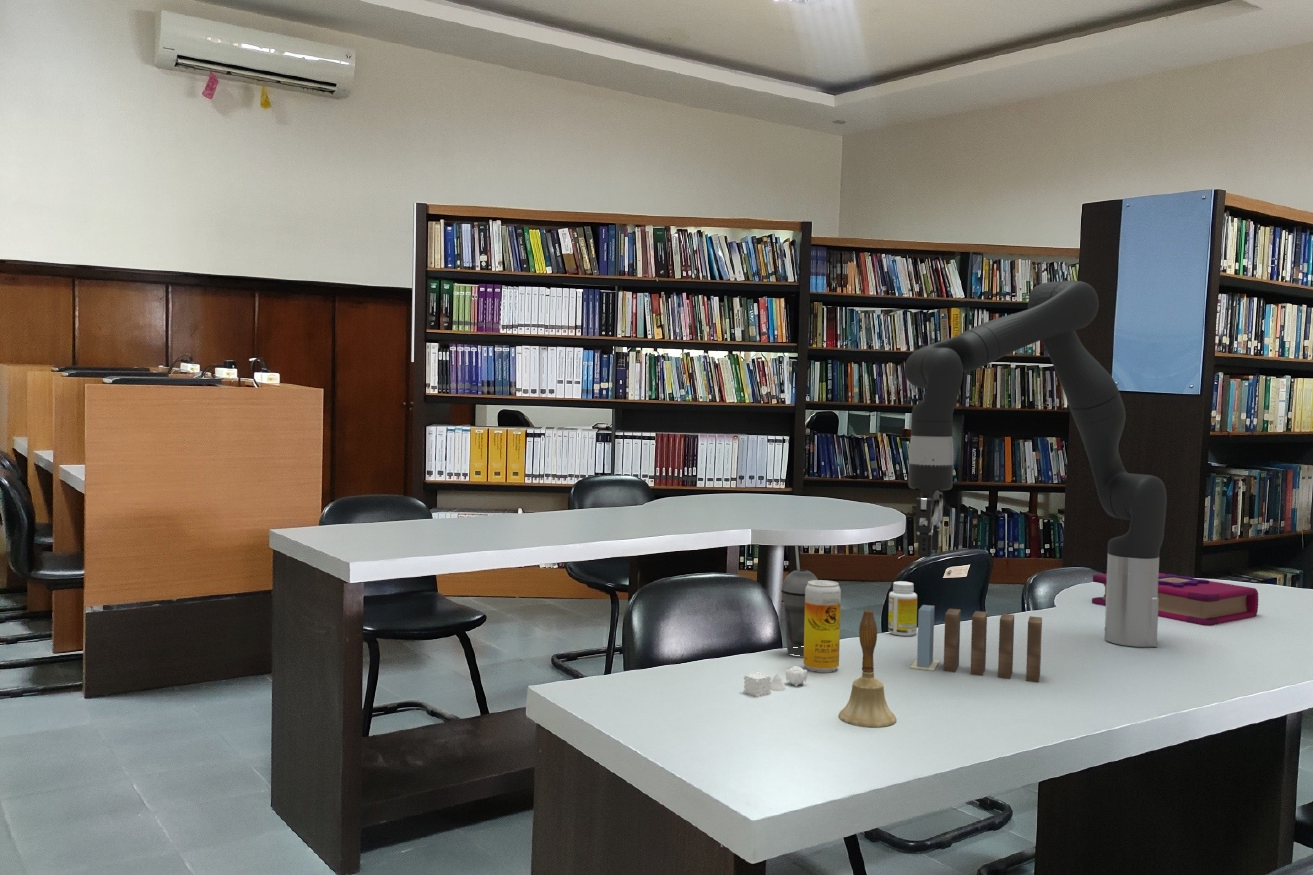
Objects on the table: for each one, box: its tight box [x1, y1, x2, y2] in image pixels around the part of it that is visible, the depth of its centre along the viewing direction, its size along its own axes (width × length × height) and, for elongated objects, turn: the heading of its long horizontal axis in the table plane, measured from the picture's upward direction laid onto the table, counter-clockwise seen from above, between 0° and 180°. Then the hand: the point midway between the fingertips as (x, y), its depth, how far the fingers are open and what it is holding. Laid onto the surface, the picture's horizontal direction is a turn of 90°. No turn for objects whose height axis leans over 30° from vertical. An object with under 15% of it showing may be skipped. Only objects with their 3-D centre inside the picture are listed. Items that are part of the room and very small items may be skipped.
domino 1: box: [916, 604, 935, 668], centre depth 179 cm, size 2×5×10 cm, turn 156°
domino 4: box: [997, 613, 1015, 680], centre depth 174 cm, size 2×5×10 cm, turn 157°
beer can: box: [803, 579, 842, 673], centre depth 175 cm, size 6×6×15 cm
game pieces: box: [743, 665, 808, 698], centre depth 163 cm, size 12×3×3 cm, turn 128°
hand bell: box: [838, 609, 897, 728], centre depth 148 cm, size 8×8×16 cm
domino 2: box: [942, 608, 962, 673], centre depth 177 cm, size 2×5×10 cm, turn 156°
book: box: [1091, 572, 1259, 627], centre depth 233 cm, size 21×28×8 cm
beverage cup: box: [781, 544, 819, 656], centre depth 185 cm, size 7×7×20 cm
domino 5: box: [1025, 615, 1043, 683], centre depth 172 cm, size 2×5×10 cm, turn 157°
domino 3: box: [970, 610, 988, 676], centre depth 175 cm, size 2×5×10 cm, turn 156°
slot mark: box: [910, 657, 940, 672], centre depth 179 cm, size 4×7×1 cm, turn 157°
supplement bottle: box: [887, 580, 918, 637], centre depth 203 cm, size 6×6×10 cm
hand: (928, 553), depth 178 cm, fingers open, 8 cm apart
